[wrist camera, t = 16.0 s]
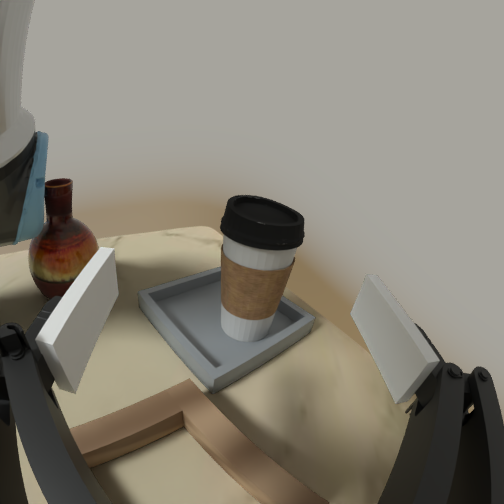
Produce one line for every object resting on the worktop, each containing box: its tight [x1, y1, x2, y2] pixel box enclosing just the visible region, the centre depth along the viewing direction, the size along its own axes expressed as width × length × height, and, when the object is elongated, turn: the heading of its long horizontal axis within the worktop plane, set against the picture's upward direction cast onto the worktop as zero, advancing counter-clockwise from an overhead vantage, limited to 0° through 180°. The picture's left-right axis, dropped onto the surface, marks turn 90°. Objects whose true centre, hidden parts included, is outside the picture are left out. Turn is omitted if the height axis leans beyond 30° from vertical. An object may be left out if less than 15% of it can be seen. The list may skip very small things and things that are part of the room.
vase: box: [28, 178, 99, 299], centre depth 31 cm, size 11×11×15 cm
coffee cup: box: [220, 195, 304, 342], centre depth 30 cm, size 8×8×15 cm
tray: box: [138, 267, 316, 394], centre depth 34 cm, size 16×16×2 cm
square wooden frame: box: [69, 378, 329, 504], centre depth 13 cm, size 16×16×3 cm
